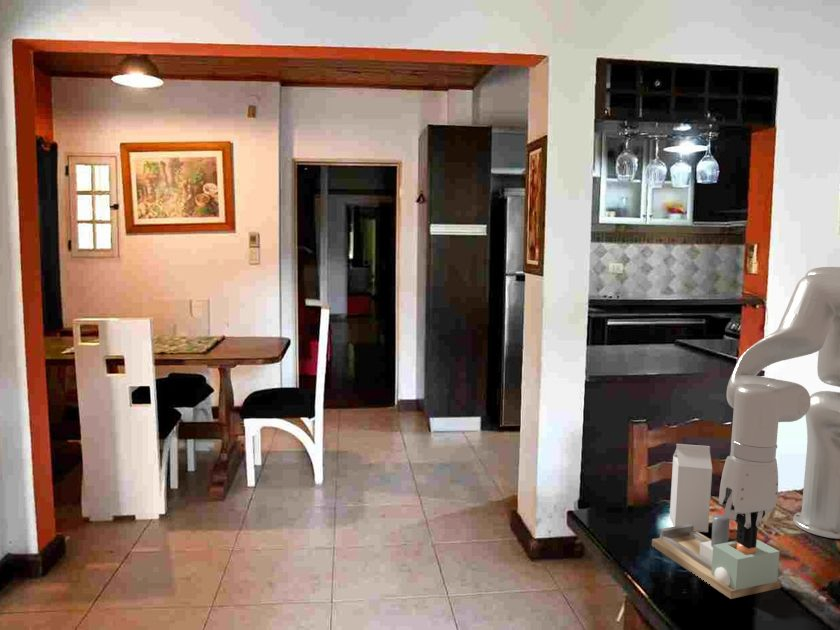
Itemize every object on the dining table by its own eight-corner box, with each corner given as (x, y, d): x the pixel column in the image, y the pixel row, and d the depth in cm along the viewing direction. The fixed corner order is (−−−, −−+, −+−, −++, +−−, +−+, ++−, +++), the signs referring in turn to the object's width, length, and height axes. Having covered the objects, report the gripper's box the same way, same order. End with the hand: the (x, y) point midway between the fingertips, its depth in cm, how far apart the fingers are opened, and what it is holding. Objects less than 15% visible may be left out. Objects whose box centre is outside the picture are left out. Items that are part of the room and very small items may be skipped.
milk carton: (708, 533, 149) (713, 451, 147) (674, 530, 150) (679, 448, 148) (701, 519, 156) (706, 441, 154) (669, 517, 157) (674, 439, 155)
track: (696, 537, 146) (697, 522, 146) (780, 588, 126) (781, 570, 125) (651, 545, 142) (652, 530, 142) (730, 598, 122) (731, 581, 121)
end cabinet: (751, 573, 131) (753, 537, 130) (776, 588, 126) (779, 551, 125) (709, 582, 128) (711, 545, 127) (733, 598, 122) (736, 559, 121)
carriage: (718, 553, 136) (721, 511, 135) (737, 564, 131) (741, 521, 130) (699, 556, 134) (701, 514, 133) (717, 568, 129) (720, 524, 128)
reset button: (745, 554, 128) (746, 539, 128) (758, 562, 125) (759, 547, 125) (732, 556, 127) (733, 541, 127) (745, 564, 124) (746, 549, 124)
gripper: (767, 441, 129) (760, 531, 132) (706, 448, 124) (699, 541, 127) (800, 453, 122) (792, 548, 125) (737, 461, 117) (730, 560, 120)
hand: (746, 544), depth 126 cm, fingers closed
